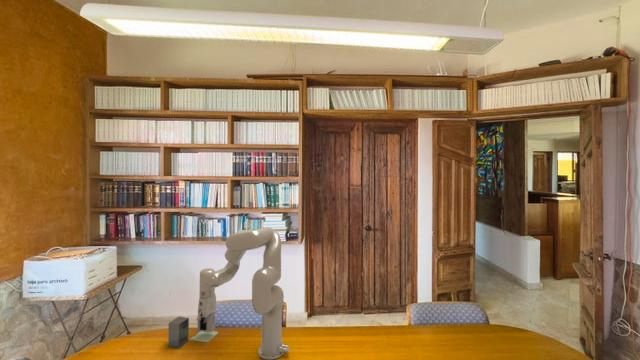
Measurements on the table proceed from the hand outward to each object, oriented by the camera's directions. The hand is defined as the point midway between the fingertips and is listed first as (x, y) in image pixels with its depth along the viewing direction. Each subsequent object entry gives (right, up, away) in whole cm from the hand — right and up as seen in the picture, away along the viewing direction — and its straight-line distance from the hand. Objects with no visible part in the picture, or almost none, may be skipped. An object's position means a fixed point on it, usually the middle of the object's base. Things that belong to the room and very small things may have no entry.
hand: (206, 326), depth 153 cm
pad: (-1, -5, 0) cm, 5 cm away
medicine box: (0, -2, 0) cm, 2 cm away
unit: (-11, -5, -7) cm, 14 cm away
